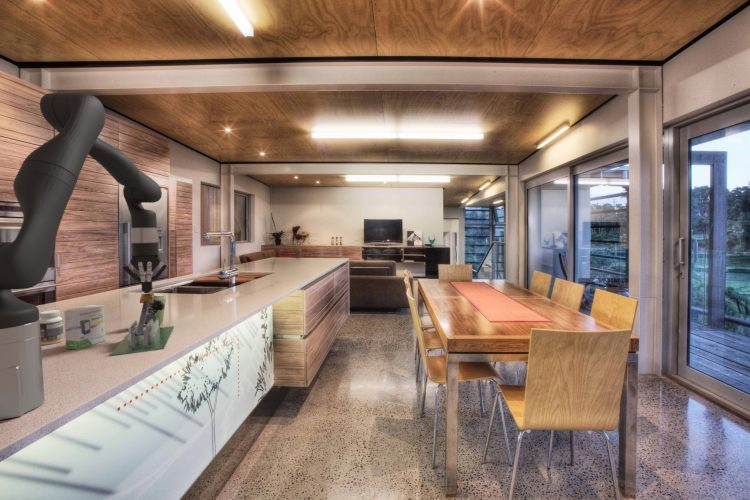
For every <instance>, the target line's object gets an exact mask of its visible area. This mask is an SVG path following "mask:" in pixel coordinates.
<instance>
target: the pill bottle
mask: <svg viewBox="0 0 750 500" xmlns="http://www.w3.org/2000/svg"><path fill="white" fill-rule="evenodd" d="M60 315H61V310H59V309H54V310H53V309H52V310H51V309H50V310H45V311H41V312H39V320H40V337H41V346H42V345H43V346H44V345H45V346H46V345H54V344H57V343H61V342H62V341H63V340H64V321H63V318H62V317H61V316H60Z"/></svg>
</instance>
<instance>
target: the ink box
mask: <svg viewBox="0 0 750 500" xmlns="http://www.w3.org/2000/svg"><path fill="white" fill-rule="evenodd" d="M63 315H64V331H65V332H64V333H65V335H64V337H65V349H66V350H67V349H69V350H70V349H71V350H77V351H78V350H82V349H85V348H87V347H90V346H93V345H97V344H100V343H102V342H105V341H106V338H107V337H106V323H105V320H106V319H105V306H104V305H100V304H99V305H97V304H89V305H83V306H79V307H73V308H68V309H65V310H64V314H63Z"/></svg>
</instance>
